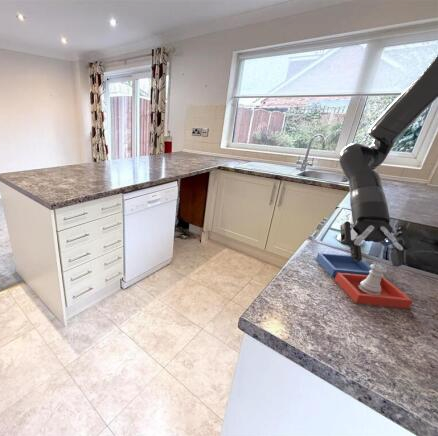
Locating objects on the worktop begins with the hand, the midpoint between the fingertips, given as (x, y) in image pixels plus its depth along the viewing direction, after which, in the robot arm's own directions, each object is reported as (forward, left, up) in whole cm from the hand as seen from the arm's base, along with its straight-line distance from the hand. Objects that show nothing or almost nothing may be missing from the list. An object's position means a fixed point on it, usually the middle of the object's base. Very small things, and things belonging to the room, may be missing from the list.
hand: (377, 263), depth 62 cm
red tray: (0, +1, -8) cm, 8 cm away
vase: (-13, -31, -8) cm, 34 cm away
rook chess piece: (0, +1, -8) cm, 8 cm away
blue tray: (0, -10, -8) cm, 13 cm away
